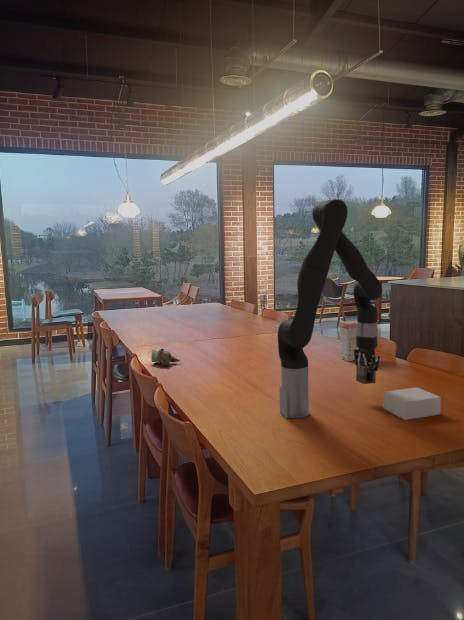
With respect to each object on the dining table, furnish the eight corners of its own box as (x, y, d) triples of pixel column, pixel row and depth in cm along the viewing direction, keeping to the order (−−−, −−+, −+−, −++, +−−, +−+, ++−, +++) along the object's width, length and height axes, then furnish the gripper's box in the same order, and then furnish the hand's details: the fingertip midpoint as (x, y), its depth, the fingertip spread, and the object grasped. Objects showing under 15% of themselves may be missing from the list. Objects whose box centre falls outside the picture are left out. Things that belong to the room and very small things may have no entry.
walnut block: (363, 384, 169) (363, 368, 169) (356, 380, 174) (356, 364, 173) (375, 382, 171) (375, 366, 170) (367, 379, 175) (368, 363, 175)
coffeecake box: (364, 355, 244) (365, 318, 241) (373, 358, 237) (373, 320, 234) (339, 358, 239) (339, 321, 237) (347, 361, 232) (347, 323, 230)
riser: (404, 419, 154) (404, 402, 153) (383, 408, 165) (383, 391, 164) (440, 414, 157) (440, 397, 157) (416, 403, 169) (417, 387, 168)
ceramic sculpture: (158, 344, 247) (181, 348, 239) (159, 360, 249) (181, 365, 241) (145, 348, 238) (167, 353, 230) (145, 365, 240) (168, 370, 232)
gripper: (347, 332, 176) (346, 375, 178) (368, 338, 162) (367, 386, 164) (365, 330, 178) (364, 374, 180) (387, 337, 164) (386, 384, 166)
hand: (365, 379), depth 172 cm, fingers closed on walnut block, 5 cm apart
